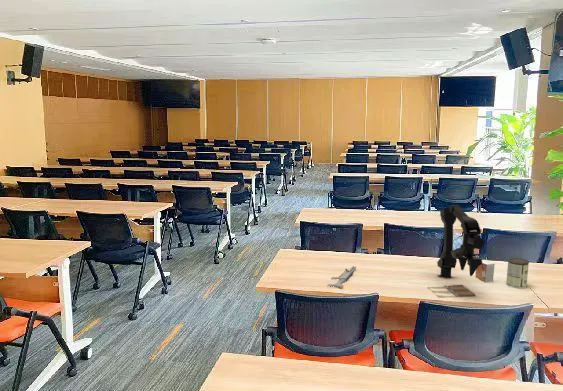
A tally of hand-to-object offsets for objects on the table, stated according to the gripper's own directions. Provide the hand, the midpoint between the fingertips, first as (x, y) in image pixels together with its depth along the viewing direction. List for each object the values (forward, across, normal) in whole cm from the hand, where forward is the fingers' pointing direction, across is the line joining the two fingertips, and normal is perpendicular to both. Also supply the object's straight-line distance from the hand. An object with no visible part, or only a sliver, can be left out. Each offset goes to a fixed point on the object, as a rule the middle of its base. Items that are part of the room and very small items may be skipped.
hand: (466, 272), depth 253 cm
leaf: (+11, 0, -3) cm, 11 cm away
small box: (+11, -18, +21) cm, 30 cm away
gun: (+12, -31, -58) cm, 66 cm away
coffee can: (+11, -8, +34) cm, 36 cm away
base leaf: (+11, 0, -12) cm, 16 cm away
